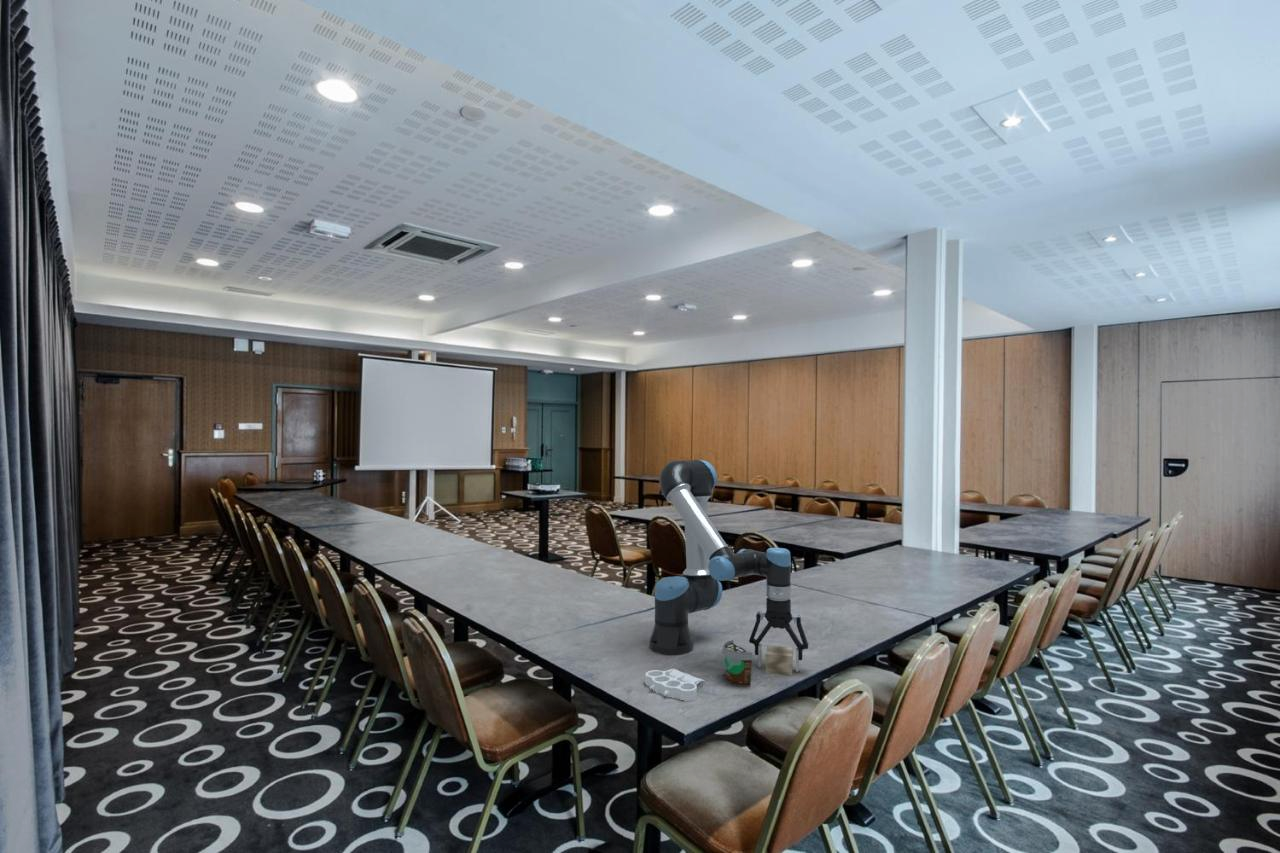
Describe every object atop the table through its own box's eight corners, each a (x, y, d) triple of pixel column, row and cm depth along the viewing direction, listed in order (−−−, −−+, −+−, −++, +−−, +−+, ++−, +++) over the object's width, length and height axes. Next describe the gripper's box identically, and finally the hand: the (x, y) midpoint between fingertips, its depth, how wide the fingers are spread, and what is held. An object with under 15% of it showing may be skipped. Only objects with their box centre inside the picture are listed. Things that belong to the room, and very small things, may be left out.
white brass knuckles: (714, 692, 175) (680, 707, 165) (668, 674, 188) (634, 687, 178) (714, 680, 175) (680, 695, 165) (668, 663, 188) (634, 676, 178)
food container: (714, 674, 187) (714, 641, 187) (732, 671, 189) (732, 639, 190) (734, 690, 176) (734, 655, 176) (753, 687, 178) (753, 652, 178)
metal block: (765, 673, 189) (765, 653, 189) (767, 663, 197) (767, 645, 197) (791, 675, 187) (791, 656, 187) (792, 666, 195) (792, 647, 195)
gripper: (739, 597, 192) (739, 667, 192) (816, 604, 185) (816, 676, 185) (743, 592, 200) (743, 659, 199) (817, 598, 193) (817, 668, 192)
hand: (778, 667), depth 192 cm, fingers open, 11 cm apart
